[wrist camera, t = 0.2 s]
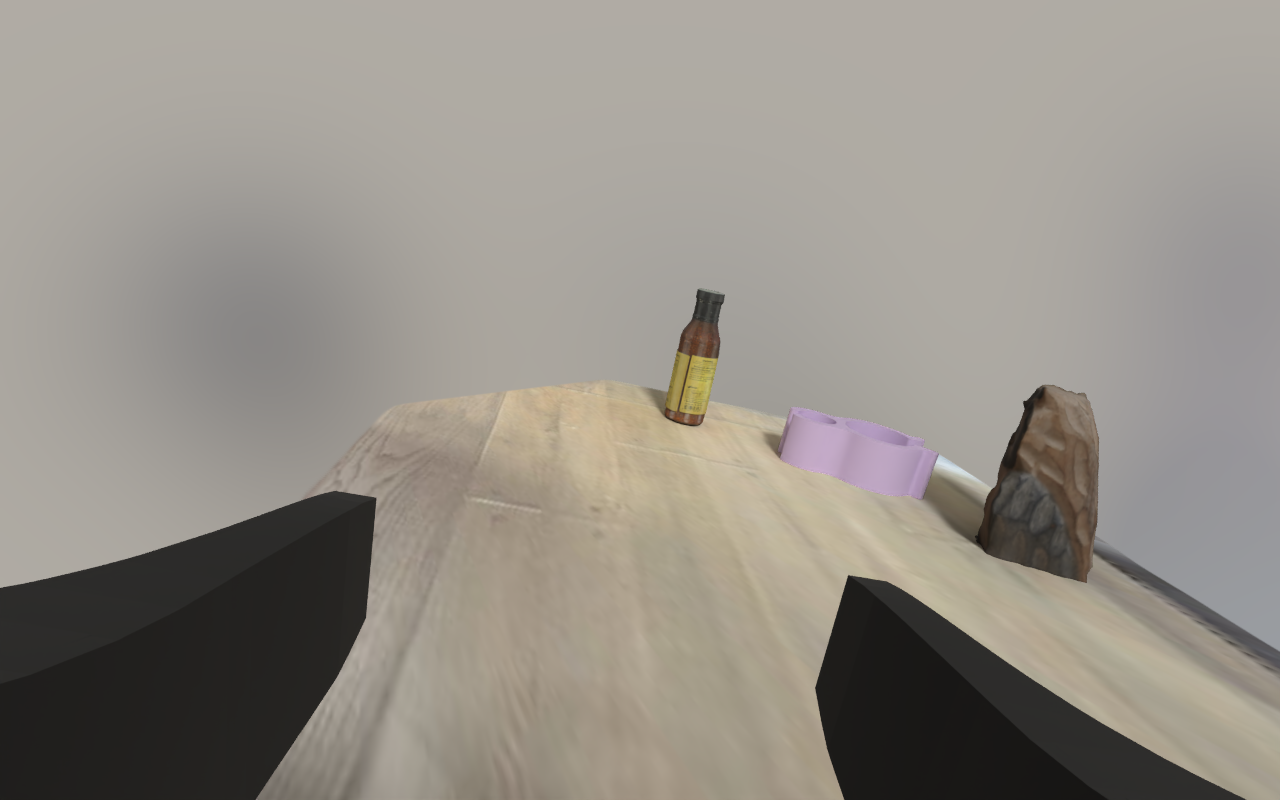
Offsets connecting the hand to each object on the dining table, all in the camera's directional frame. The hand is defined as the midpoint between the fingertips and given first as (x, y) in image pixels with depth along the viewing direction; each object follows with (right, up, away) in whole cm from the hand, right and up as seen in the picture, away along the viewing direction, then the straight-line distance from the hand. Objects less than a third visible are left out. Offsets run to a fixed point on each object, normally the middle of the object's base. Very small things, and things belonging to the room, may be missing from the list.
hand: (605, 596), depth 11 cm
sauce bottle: (+7, 0, +97) cm, 97 cm away
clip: (+30, -8, +90) cm, 95 cm away
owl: (+47, -16, +74) cm, 89 cm away
